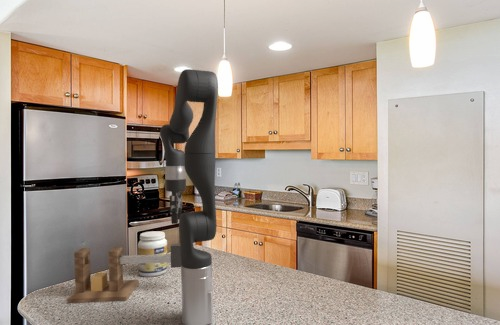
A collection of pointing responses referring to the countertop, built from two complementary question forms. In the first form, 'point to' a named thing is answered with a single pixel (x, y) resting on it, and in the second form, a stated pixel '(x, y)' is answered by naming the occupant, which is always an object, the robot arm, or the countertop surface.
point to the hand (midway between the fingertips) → (176, 221)
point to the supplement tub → (152, 252)
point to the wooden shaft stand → (116, 284)
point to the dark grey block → (155, 258)
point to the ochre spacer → (99, 282)
